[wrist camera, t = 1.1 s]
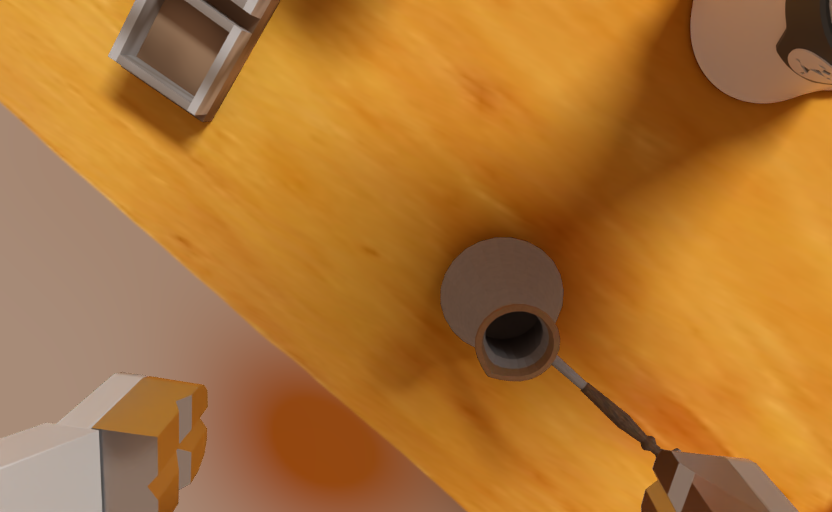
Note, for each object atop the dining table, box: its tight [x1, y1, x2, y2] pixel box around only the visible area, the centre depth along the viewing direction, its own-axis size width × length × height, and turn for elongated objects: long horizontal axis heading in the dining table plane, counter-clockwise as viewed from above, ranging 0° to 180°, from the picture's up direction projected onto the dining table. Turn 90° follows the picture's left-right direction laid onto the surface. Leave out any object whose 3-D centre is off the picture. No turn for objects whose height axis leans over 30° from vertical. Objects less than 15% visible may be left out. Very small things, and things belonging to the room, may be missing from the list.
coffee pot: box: [441, 238, 681, 457], centre depth 46 cm, size 21×12×15 cm, turn 53°
